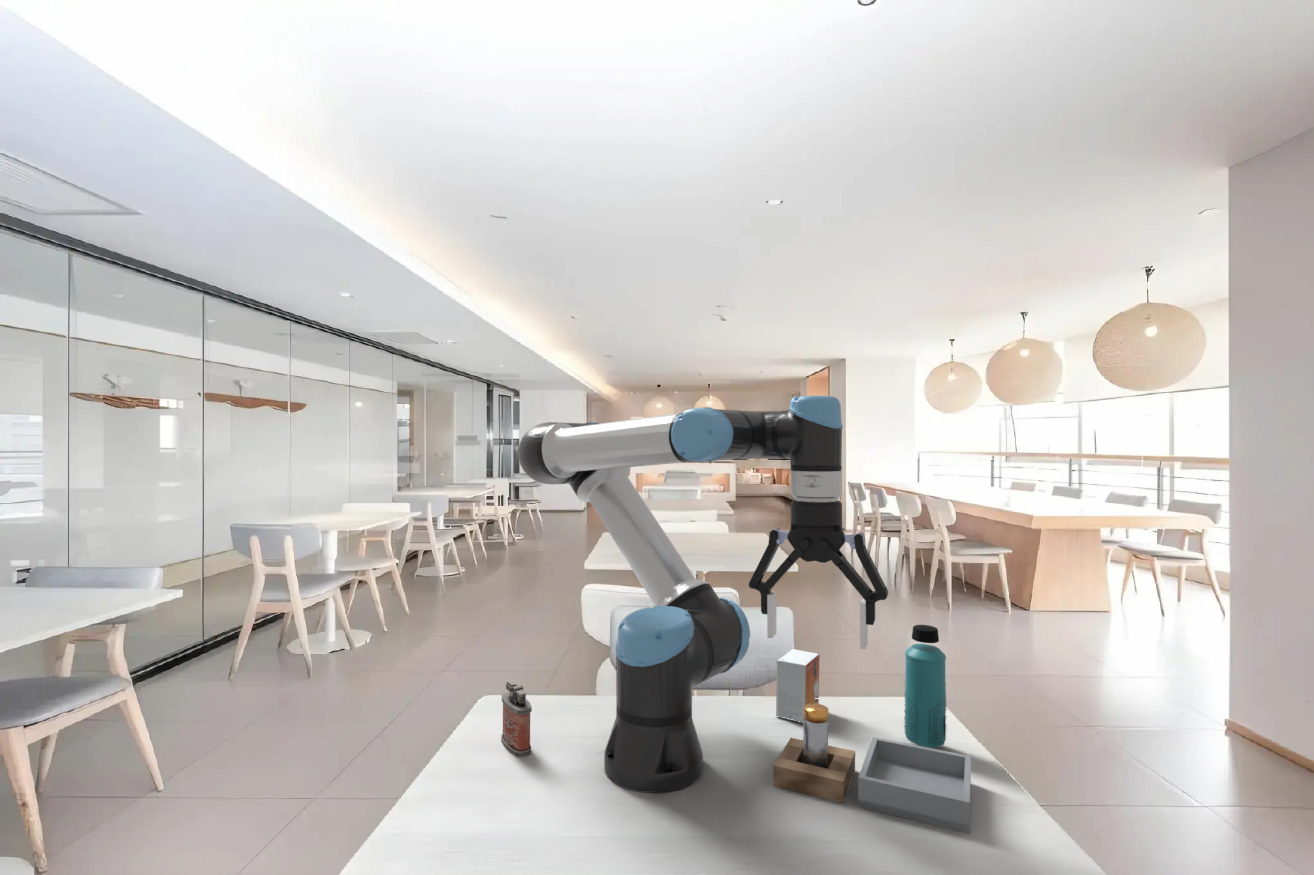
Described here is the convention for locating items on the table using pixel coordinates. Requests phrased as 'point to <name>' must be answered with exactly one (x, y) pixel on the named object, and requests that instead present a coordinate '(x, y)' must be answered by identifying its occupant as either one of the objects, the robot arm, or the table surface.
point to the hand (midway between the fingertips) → (816, 641)
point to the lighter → (516, 720)
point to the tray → (916, 783)
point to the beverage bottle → (925, 690)
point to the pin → (815, 735)
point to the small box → (796, 683)
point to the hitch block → (814, 772)
